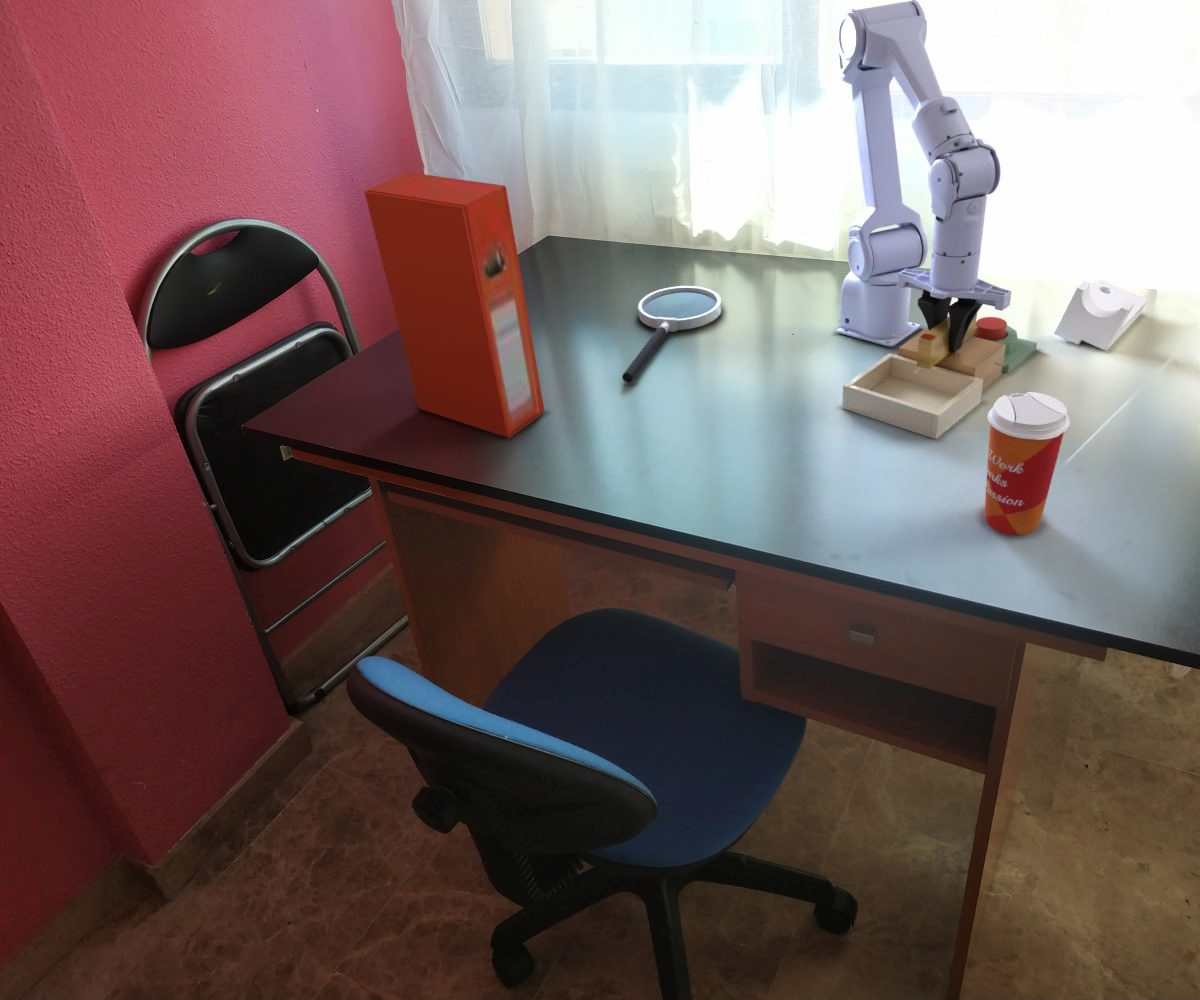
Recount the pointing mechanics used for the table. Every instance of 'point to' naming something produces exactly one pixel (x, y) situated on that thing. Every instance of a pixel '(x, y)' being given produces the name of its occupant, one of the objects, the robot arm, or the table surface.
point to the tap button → (991, 328)
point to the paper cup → (1022, 459)
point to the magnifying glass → (673, 316)
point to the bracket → (1099, 314)
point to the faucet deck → (965, 357)
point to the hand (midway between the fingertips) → (946, 347)
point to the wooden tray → (912, 395)
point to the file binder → (458, 298)
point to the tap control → (1015, 349)
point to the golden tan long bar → (938, 343)
